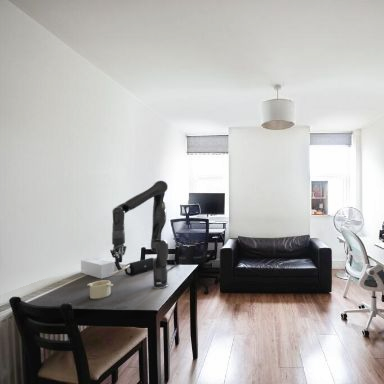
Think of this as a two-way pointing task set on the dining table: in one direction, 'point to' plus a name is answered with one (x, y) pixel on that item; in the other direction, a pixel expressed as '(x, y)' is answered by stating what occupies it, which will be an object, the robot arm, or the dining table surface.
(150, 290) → the dining table surface
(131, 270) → the portable speaker
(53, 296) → the dining table surface
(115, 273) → the lid
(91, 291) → the pot
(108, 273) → the white box
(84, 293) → the dining table surface
